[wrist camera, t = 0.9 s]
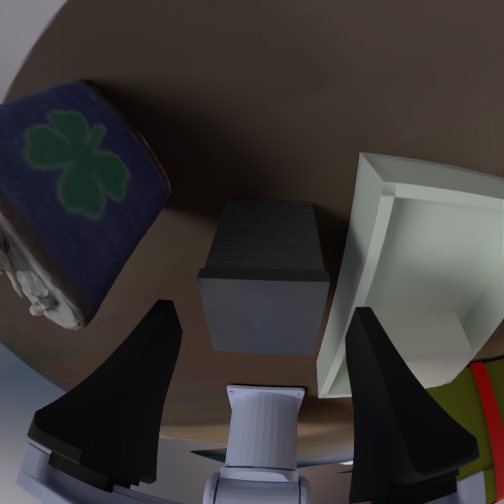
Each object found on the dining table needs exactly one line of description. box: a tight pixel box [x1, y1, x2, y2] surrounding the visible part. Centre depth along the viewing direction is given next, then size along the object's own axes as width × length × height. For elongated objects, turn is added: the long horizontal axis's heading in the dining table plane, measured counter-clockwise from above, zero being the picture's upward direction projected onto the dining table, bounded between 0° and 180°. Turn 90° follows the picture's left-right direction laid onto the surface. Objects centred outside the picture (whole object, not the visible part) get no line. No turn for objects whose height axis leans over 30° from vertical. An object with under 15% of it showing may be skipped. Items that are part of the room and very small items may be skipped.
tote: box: [317, 152, 504, 398], centre depth 16 cm, size 18×13×4 cm
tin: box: [197, 200, 330, 354], centre depth 14 cm, size 5×5×6 cm
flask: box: [0, 80, 171, 331], centre depth 9 cm, size 9×3×11 cm, turn 33°
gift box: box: [369, 359, 504, 504], centre depth 19 cm, size 21×21×25 cm
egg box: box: [376, 312, 472, 389], centre depth 18 cm, size 5×8×4 cm, turn 92°
